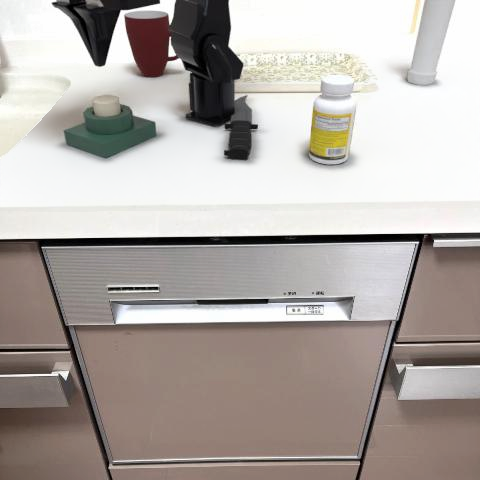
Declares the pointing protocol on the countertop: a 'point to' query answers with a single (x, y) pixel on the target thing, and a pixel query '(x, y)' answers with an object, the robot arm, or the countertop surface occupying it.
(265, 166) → the countertop surface
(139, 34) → the mug
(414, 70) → the white tall cylinder
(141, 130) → the green peg holder
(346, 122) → the supplement bottle
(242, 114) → the knife
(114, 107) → the cream short cylinder
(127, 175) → the countertop surface
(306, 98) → the countertop surface
